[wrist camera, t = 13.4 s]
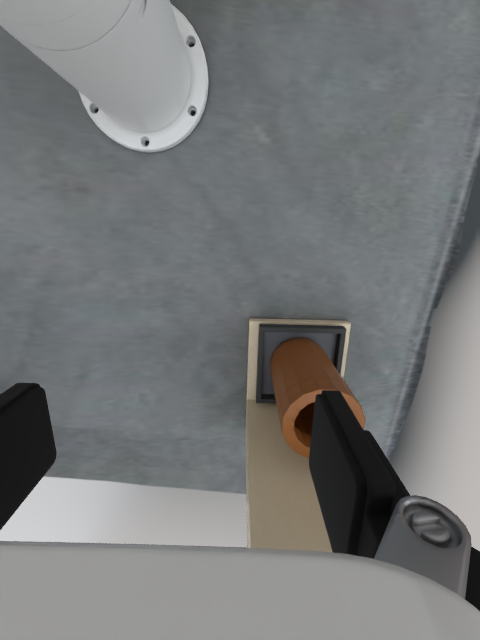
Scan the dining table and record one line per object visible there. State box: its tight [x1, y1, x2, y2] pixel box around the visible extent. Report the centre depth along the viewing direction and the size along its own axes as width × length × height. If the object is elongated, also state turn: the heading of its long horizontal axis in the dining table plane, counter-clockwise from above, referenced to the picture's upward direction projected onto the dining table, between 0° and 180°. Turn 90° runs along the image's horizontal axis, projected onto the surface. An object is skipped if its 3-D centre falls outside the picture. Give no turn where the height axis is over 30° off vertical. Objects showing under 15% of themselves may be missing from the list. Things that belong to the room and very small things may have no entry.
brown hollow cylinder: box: [270, 337, 365, 458], centre depth 31 cm, size 7×7×12 cm
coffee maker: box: [245, 318, 351, 553], centre depth 27 cm, size 16×12×24 cm
